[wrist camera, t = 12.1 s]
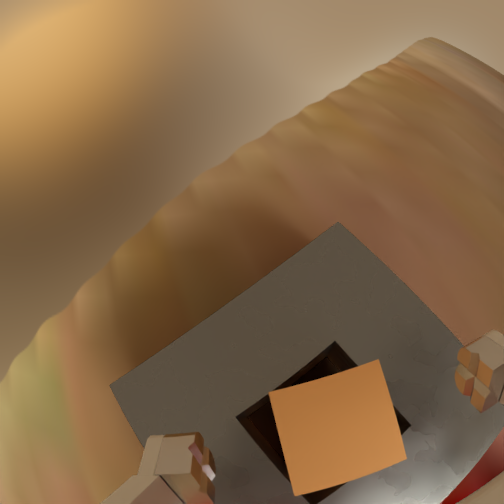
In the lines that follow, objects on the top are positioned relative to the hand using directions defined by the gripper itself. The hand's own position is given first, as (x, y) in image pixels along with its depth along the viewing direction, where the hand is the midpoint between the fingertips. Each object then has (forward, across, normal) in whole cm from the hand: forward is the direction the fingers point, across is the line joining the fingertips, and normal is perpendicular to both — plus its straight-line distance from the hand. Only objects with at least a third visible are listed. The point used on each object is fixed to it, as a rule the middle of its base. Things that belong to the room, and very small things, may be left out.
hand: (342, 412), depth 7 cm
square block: (+6, 0, +7) cm, 10 cm away
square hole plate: (+6, 0, +7) cm, 10 cm away
